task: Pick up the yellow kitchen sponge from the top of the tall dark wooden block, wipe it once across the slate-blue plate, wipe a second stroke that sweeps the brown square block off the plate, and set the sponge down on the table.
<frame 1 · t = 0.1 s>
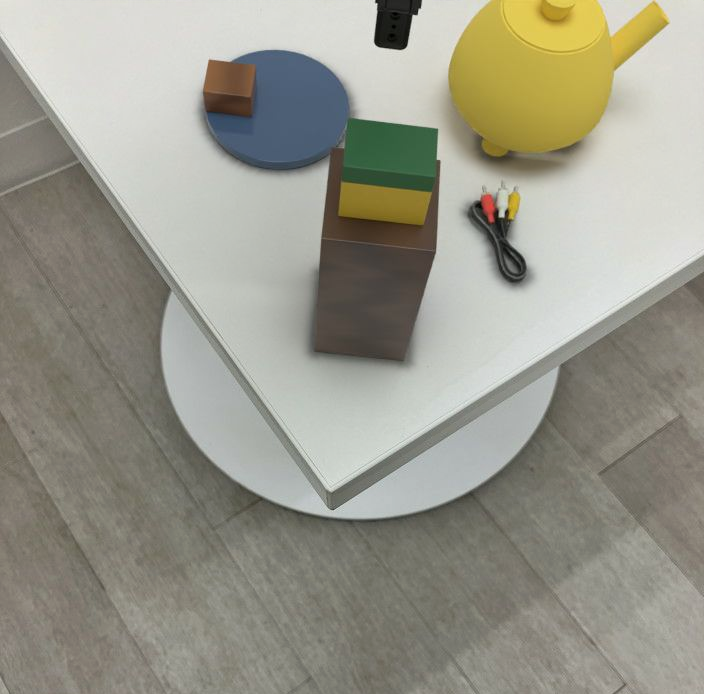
sponge: (382, 198, 56), point 16 cm above the table, touching tall dark wooden block
brown square block: (231, 98, 77), point 1 cm above the table, touching plate
tall dark wooden block: (362, 316, 71), on the table
plate: (277, 111, 78), on the table
composite cable: (495, 239, 75), on the table
teapot: (536, 113, 81), on the table
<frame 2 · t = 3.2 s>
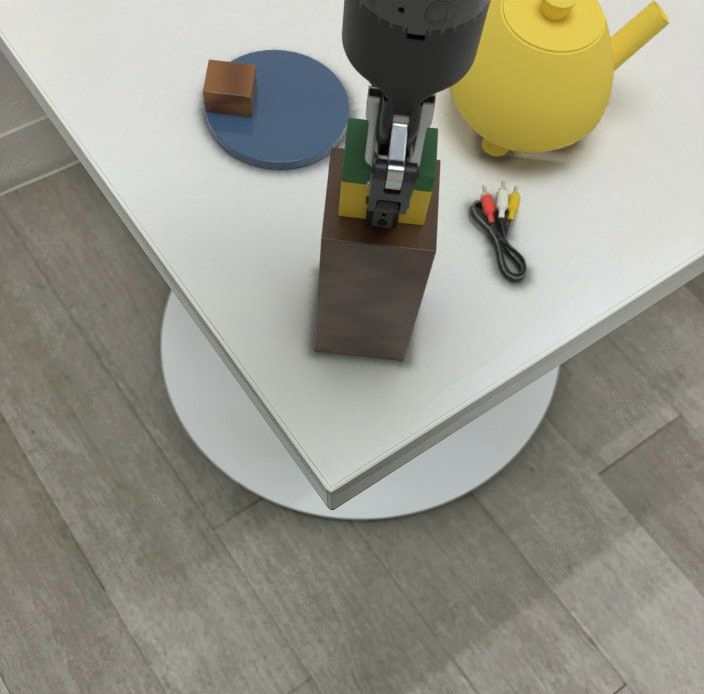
hand: (383, 195, 56), 16 cm above the table, tool pointing down, fingers closed on sponge, 4 cm apart
sponge: (382, 197, 56), point 16 cm above the table, touching gripper, tall dark wooden block
everything else where it was.
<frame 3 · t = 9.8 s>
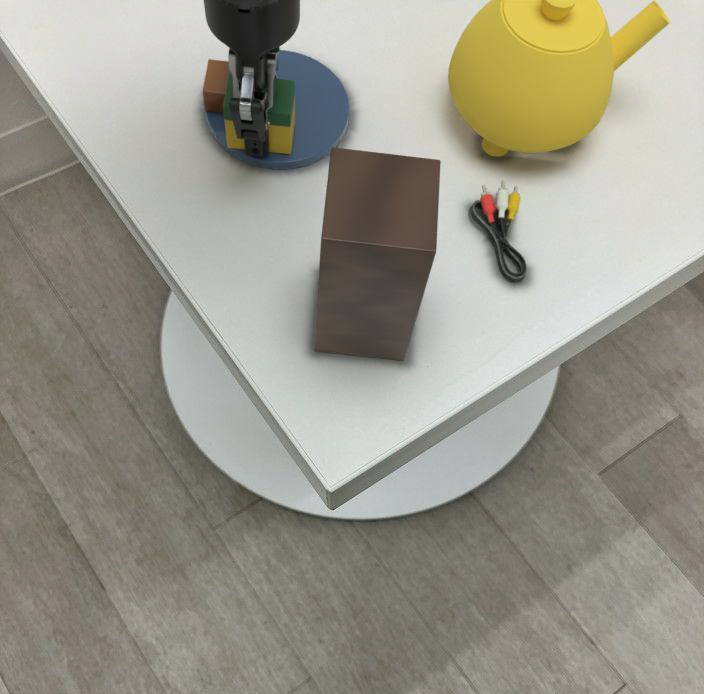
hand: (260, 133, 76), 1 cm above the table, tool pointing down, fingers closed on sponge, 4 cm apart
sponge: (261, 134, 76), point 1 cm above the table, touching gripper
brown square block: (231, 98, 77), point 1 cm above the table, touching gripper, plate
everything else where it was.
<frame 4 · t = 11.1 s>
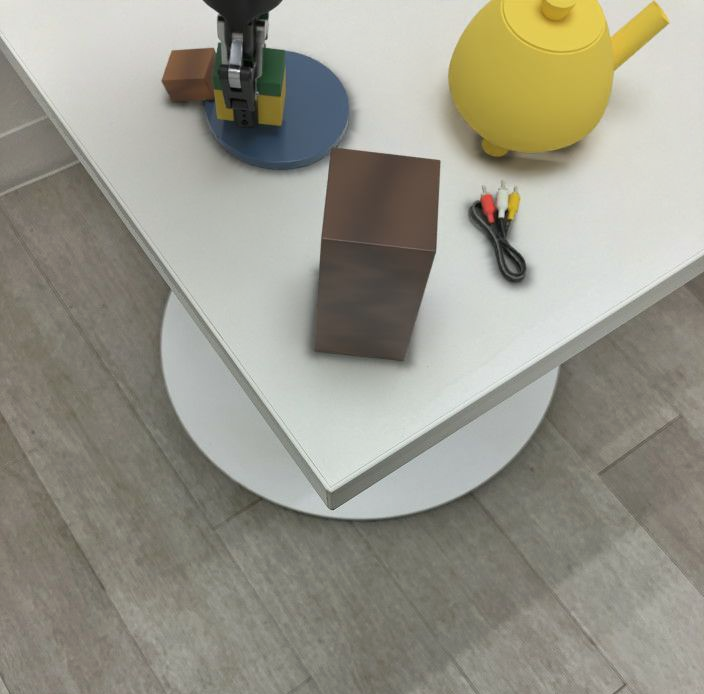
hand: (249, 105, 75), 3 cm above the table, tool pointing down, fingers closed on sponge, 4 cm apart
sponge: (251, 106, 75), point 3 cm above the table, touching gripper
brown square block: (197, 85, 78), point 1 cm above the table, tilted 17°, touching plate
everything else where it was.
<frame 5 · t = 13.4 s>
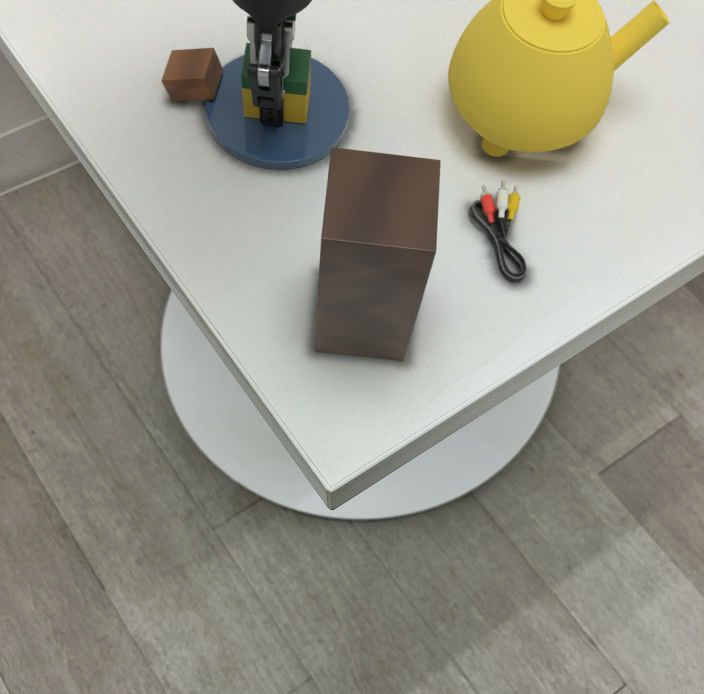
hand: (274, 104, 77), 1 cm above the table, tool pointing down, fingers closed on sponge, 4 cm apart
sponge: (277, 104, 77), point 1 cm above the table, touching gripper
everything else where it was.
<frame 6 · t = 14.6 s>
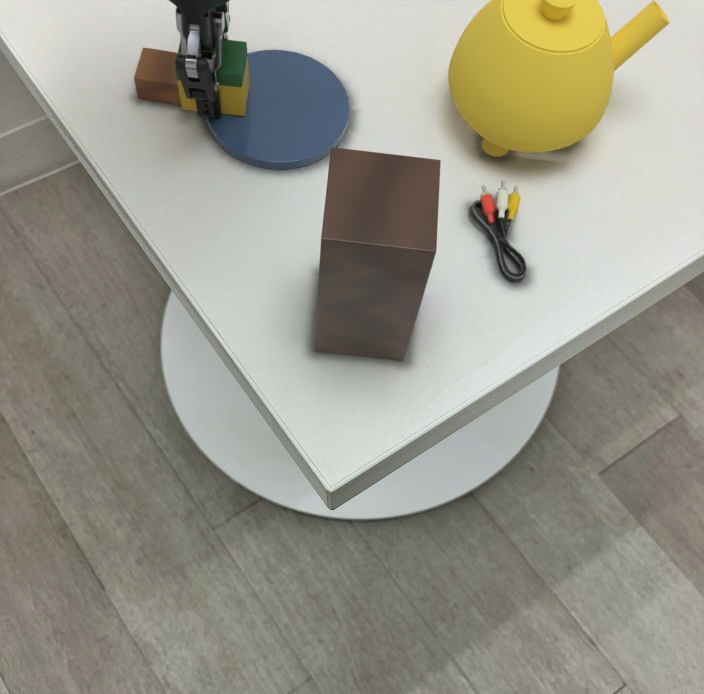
hand: (213, 96, 77), 1 cm above the table, tool pointing down, fingers closed on sponge, 4 cm apart
sponge: (216, 97, 77), point 1 cm above the table, touching gripper
brown square block: (165, 86, 78), on the table
everything else where it was.
when the fingers open (0 cm above the table, at t = 20.9 s): sponge stays where it is, on the table.
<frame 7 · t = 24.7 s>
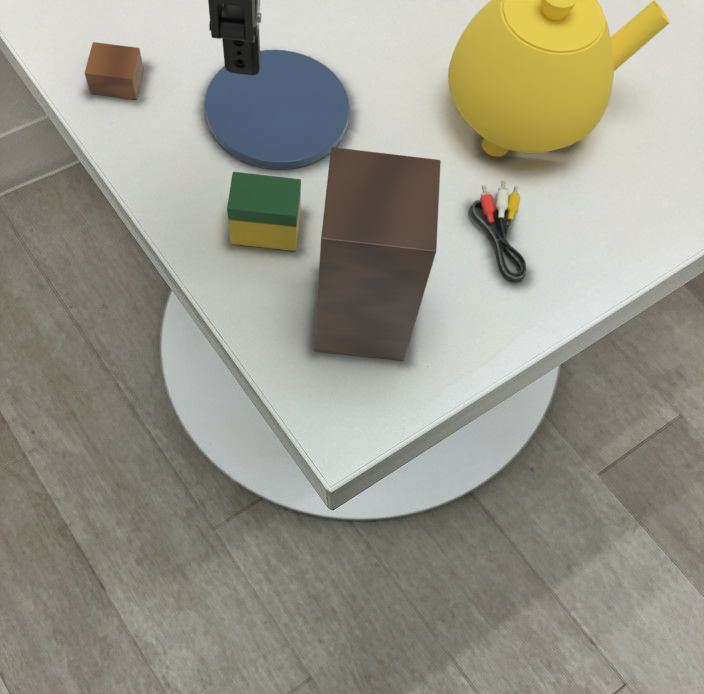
hand: (251, 21, 53), 22 cm above the table, tool pointing down, fingers open, 8 cm apart
sponge: (265, 229, 73), on the table
brown square block: (117, 81, 78), on the table
everything else where it was.
at the end: brown square block inside the target area on the table beside the plate (1.4 cm from its centre), on the table; sponge inside the target area (0.4 cm from its centre), on the table; the gripper is holding nothing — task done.
